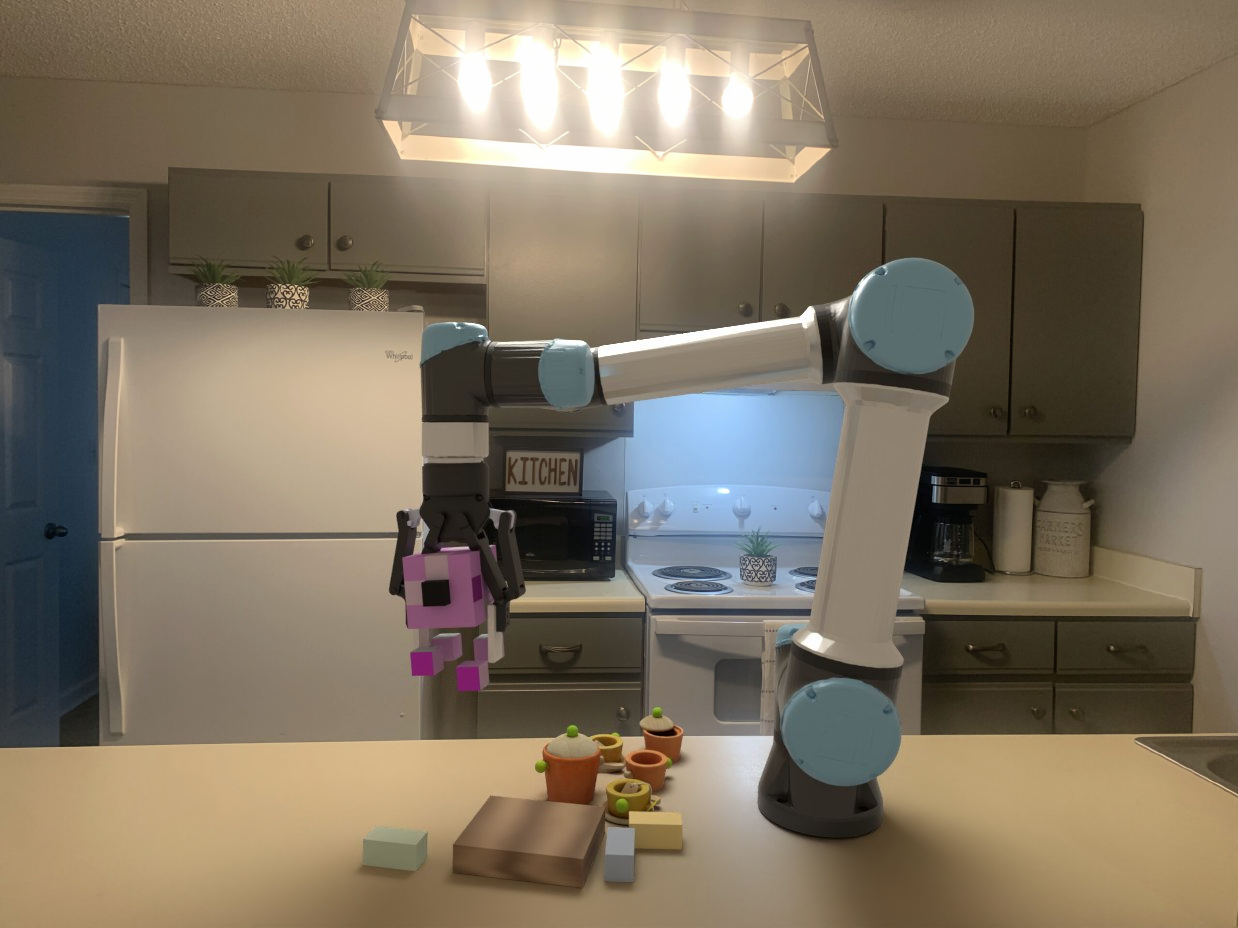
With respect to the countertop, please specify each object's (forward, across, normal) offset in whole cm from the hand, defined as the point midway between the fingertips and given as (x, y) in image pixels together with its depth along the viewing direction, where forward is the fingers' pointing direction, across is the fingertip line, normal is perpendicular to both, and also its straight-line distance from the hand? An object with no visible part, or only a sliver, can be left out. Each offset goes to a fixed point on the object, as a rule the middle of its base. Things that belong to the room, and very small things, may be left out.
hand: (457, 657), depth 94 cm
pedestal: (+21, -10, +2) cm, 23 cm away
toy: (+3, 0, 0) cm, 3 cm away
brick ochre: (+21, -22, -3) cm, 31 cm away
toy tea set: (+21, -15, -18) cm, 32 cm away
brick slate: (+21, -20, +3) cm, 29 cm away
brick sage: (+21, +4, +8) cm, 22 cm away
